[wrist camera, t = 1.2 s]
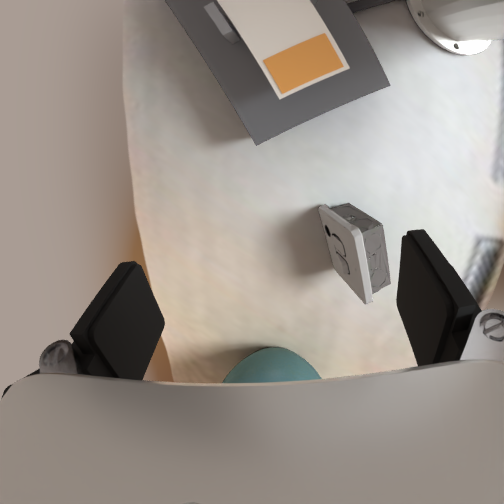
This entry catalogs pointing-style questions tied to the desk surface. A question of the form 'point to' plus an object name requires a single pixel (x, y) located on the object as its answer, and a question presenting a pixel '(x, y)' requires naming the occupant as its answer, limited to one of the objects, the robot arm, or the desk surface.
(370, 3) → the three grey prongs
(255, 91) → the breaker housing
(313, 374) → the plant pot
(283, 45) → the breaker rocker
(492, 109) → the desk surface
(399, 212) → the desk surface
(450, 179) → the desk surface
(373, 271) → the electrical switch
